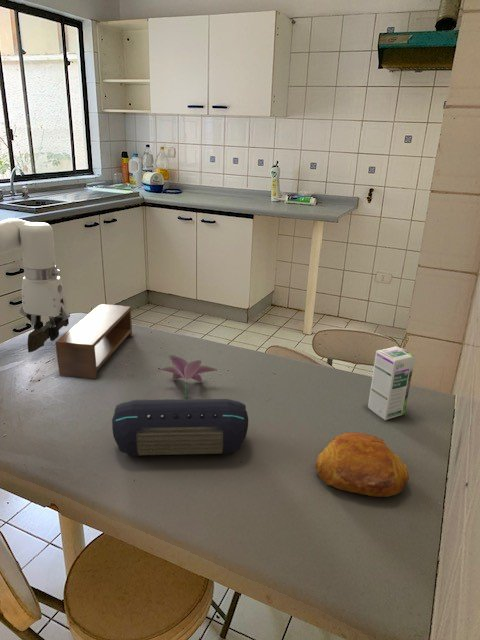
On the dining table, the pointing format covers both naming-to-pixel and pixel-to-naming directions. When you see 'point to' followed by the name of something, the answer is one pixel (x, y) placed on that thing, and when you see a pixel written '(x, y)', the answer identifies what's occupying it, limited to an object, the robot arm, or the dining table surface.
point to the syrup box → (391, 382)
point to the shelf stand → (93, 340)
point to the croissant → (362, 465)
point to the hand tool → (42, 335)
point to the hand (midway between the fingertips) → (47, 337)
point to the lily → (187, 369)
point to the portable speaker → (180, 426)
